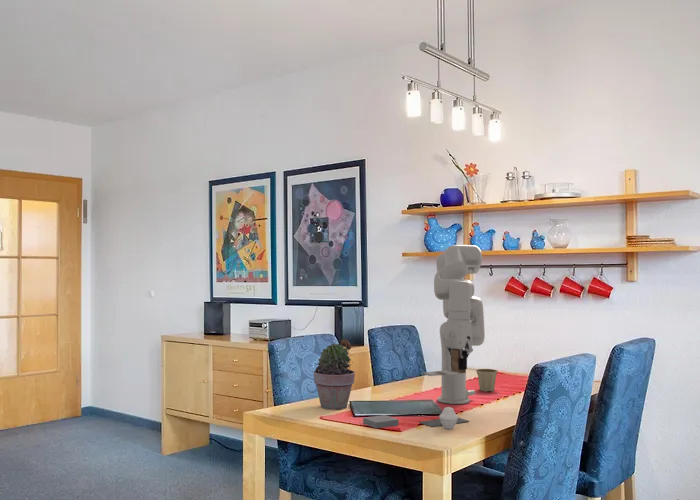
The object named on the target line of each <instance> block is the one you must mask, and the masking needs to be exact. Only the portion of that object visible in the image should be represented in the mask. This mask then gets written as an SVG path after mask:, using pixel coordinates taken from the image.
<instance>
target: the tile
mask: <svg viewBox="0 0 700 500" xmlns="http://www.w3.org/2000/svg"><path fill="white" fill-rule="evenodd" d="M399 421H400V420H399V419H398V418H395V417H392V416H390V415H387V414H383V415H376V416H375V415H374V416H368V417H362V424H364V425H365V426H369V427H371V428H374V429H382V428H389V426H390V427H397V426H399Z"/></svg>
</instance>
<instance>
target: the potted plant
mask: <svg viewBox="0 0 700 500" xmlns="http://www.w3.org/2000/svg"><path fill="white" fill-rule="evenodd" d="M330 344H331V345H326V348H323V349H322V351H321V352H320V354H321V355H320V358H318V360H315V361H316V362H317V361H318V362H317V363H316V364H315V366H316V367H315V369H314V370H313V381H314V384H315V385H316V386H315V387H316V390H317V394H318V399H319V403H320V408H322V409H324V410H333V411H335V410H337V411H338V410H344V409H347V407H348V403H349V399H350V396H351V391H352V386H353V384H355V376H356V371H354V370H352V369H351V366H352V364H354V363H353V361H352V360H351V358H350V357H351V356H353V354H352V353H350V352H349V351H350V350H351V349H352V345H351V343H350V341H349V340H348V339H342V340H341V342H339V343H334V342H331V343H330ZM344 347H345V348H344ZM350 361H351V362H350ZM351 363H352V364H351Z"/></svg>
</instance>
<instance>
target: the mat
mask: <svg viewBox="0 0 700 500" xmlns="http://www.w3.org/2000/svg"><path fill="white" fill-rule="evenodd" d="M469 422H470V420H467V419H465V418H461V417H458V419H457V422H456V424H455V425H458V424H463V423H464V424H465V423H469ZM418 423H419V424H421V425H424V426H427V427H431V428H435V427H443V425H442V423H441V421H440V418H438V419H430V420H423V421H419V422H418Z"/></svg>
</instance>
